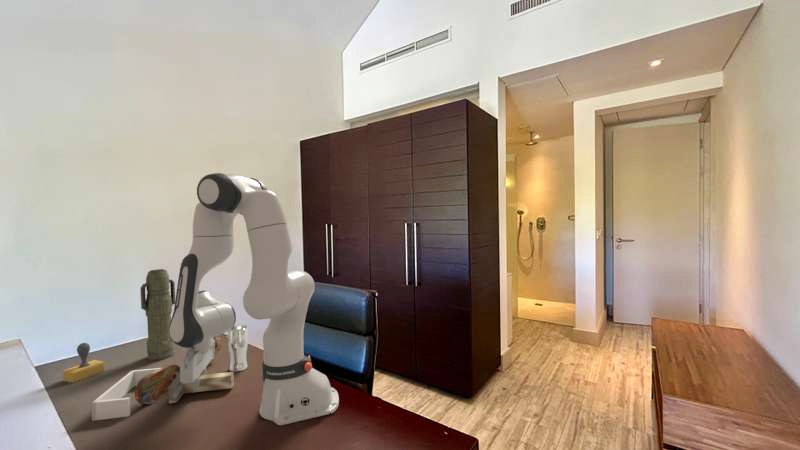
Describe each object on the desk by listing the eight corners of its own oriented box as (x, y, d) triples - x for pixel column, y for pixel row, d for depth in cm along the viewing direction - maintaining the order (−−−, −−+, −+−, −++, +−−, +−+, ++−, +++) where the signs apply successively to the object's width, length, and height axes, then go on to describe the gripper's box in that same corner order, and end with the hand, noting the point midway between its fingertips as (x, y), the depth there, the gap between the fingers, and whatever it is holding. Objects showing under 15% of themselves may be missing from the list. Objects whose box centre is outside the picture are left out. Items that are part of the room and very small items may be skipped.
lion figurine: (224, 357, 141) (223, 335, 140) (221, 363, 136) (220, 339, 135) (183, 362, 137) (182, 339, 137) (178, 368, 132) (177, 344, 132)
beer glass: (244, 362, 136) (243, 323, 135) (252, 367, 131) (250, 327, 130) (225, 368, 131) (224, 328, 130) (232, 374, 126) (230, 332, 125)
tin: (142, 410, 104) (140, 381, 103) (133, 409, 104) (131, 380, 104) (183, 385, 118) (182, 360, 118) (175, 384, 119) (174, 359, 119)
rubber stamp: (73, 383, 121) (71, 348, 121) (62, 381, 123) (61, 347, 123) (105, 371, 131) (104, 339, 130) (95, 369, 133) (93, 337, 132)
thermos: (138, 360, 140) (134, 271, 139) (168, 349, 151) (165, 267, 150) (152, 363, 136) (148, 273, 135) (182, 352, 147) (178, 268, 146)
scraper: (238, 376, 122) (237, 362, 122) (227, 396, 109) (226, 380, 109) (187, 381, 119) (186, 367, 119) (169, 403, 105) (168, 386, 105)
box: (162, 382, 121) (161, 367, 121) (128, 416, 100) (128, 399, 100) (132, 385, 119) (131, 370, 119) (92, 420, 98) (91, 403, 98)
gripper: (196, 353, 103) (198, 399, 104) (217, 330, 123) (219, 370, 124) (172, 355, 102) (174, 402, 103) (197, 332, 122) (199, 372, 123)
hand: (199, 384), depth 113 cm, fingers closed on scraper, 3 cm apart
